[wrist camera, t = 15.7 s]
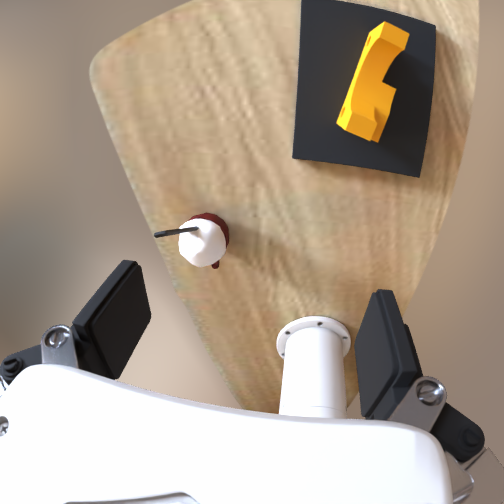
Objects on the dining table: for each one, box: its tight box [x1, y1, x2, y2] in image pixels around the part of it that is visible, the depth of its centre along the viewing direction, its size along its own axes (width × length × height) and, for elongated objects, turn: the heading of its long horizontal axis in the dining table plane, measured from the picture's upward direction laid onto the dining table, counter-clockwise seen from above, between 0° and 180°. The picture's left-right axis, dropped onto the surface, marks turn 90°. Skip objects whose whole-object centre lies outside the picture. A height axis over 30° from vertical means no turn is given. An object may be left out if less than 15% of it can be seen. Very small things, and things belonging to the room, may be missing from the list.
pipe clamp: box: [337, 21, 409, 143], centre depth 24 cm, size 12×4×6 cm, turn 163°
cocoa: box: [154, 213, 229, 269], centre depth 35 cm, size 10×6×12 cm, turn 174°
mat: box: [292, 0, 436, 178], centre depth 27 cm, size 20×16×1 cm
